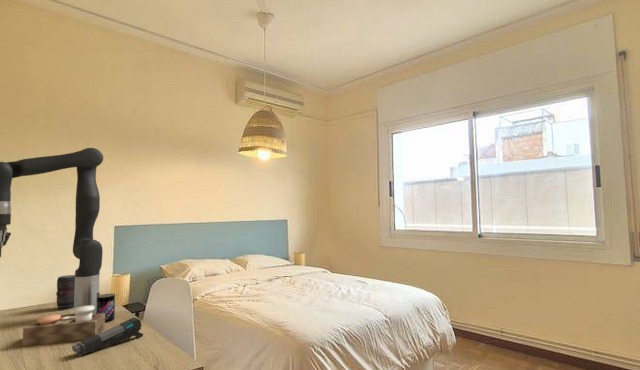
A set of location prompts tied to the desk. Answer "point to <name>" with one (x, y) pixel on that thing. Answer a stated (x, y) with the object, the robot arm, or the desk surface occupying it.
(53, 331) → the console
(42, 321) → the terracotta button
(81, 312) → the white button
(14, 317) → the desk surface
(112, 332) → the gun
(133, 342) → the desk surface
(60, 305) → the camera lens
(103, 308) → the supplement container
